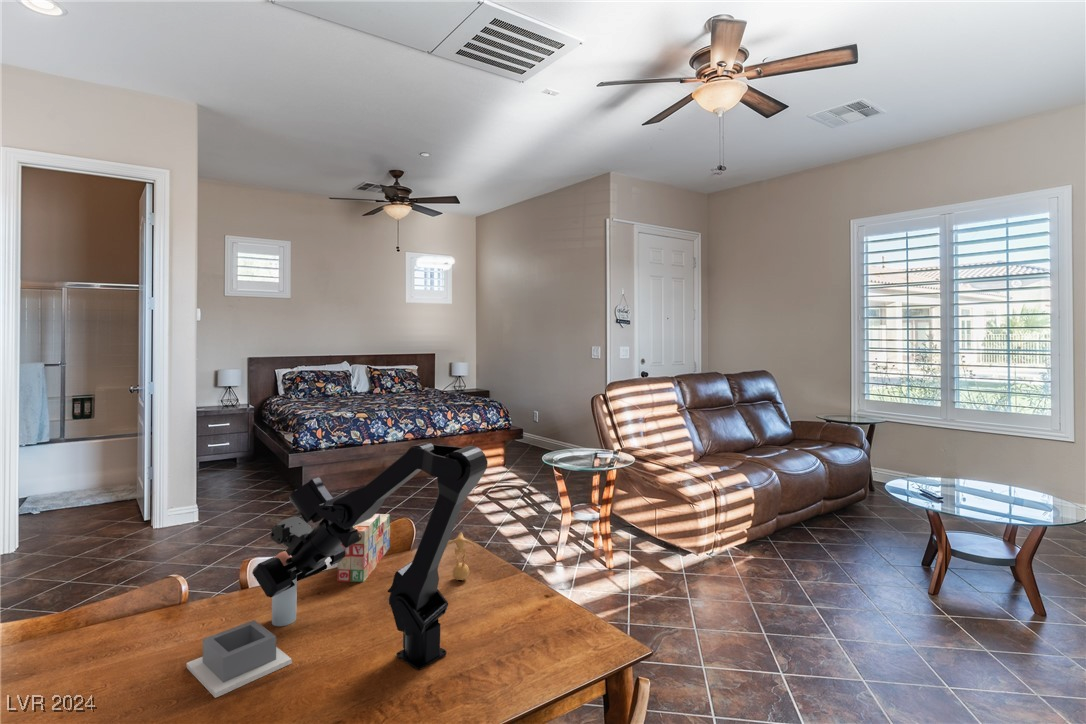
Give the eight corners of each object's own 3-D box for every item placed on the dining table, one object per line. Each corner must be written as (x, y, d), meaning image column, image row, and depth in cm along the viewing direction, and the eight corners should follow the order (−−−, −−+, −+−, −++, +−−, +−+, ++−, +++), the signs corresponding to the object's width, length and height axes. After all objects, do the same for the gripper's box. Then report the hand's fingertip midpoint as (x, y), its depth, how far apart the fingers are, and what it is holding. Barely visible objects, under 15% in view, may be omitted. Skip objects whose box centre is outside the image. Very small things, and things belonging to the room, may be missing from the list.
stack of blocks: (367, 547, 146) (367, 502, 146) (390, 547, 146) (391, 502, 146) (336, 582, 125) (337, 529, 124) (363, 582, 125) (364, 530, 124)
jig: (291, 663, 93) (291, 636, 93) (215, 698, 84) (215, 667, 84) (259, 638, 101) (260, 612, 100) (186, 667, 91) (186, 639, 91)
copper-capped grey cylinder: (300, 620, 107) (301, 551, 107) (278, 628, 104) (279, 558, 104) (289, 612, 110) (290, 545, 110) (267, 621, 107) (268, 552, 106)
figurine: (478, 576, 130) (479, 526, 129) (477, 587, 124) (478, 535, 123) (443, 576, 129) (444, 526, 129) (440, 587, 123) (441, 535, 123)
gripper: (335, 494, 114) (293, 538, 118) (260, 521, 96) (215, 571, 100) (365, 537, 111) (322, 580, 115) (294, 572, 94) (246, 621, 98)
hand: (279, 586), depth 107 cm, fingers closed on copper-capped grey cylinder, 4 cm apart
